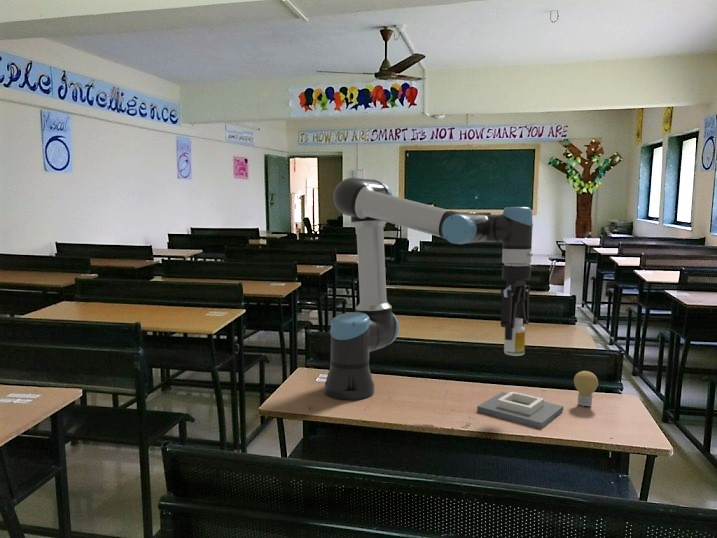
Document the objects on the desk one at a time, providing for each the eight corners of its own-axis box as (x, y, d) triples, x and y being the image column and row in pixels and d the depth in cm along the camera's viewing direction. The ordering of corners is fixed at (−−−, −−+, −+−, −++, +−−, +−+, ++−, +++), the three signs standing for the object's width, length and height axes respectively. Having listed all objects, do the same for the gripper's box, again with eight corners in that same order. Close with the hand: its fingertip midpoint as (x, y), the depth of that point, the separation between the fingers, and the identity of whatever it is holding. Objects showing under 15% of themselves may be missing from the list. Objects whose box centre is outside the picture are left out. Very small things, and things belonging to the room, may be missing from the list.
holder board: (477, 411, 148) (477, 399, 148) (502, 396, 160) (502, 385, 160) (541, 428, 137) (542, 415, 136) (563, 411, 149) (563, 399, 149)
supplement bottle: (528, 355, 145) (529, 320, 144) (509, 356, 144) (510, 320, 143) (519, 351, 150) (520, 316, 149) (500, 351, 149) (501, 317, 148)
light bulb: (599, 410, 151) (602, 375, 150) (576, 408, 151) (578, 374, 150) (592, 402, 157) (594, 368, 156) (569, 401, 158) (571, 367, 157)
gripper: (515, 267, 135) (512, 358, 137) (543, 263, 149) (540, 345, 151) (487, 266, 140) (486, 353, 142) (517, 261, 154) (515, 341, 156)
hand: (514, 349), depth 147 cm, fingers closed on supplement bottle, 5 cm apart
